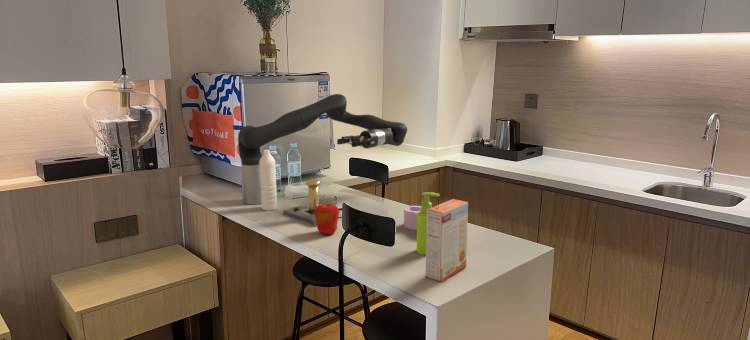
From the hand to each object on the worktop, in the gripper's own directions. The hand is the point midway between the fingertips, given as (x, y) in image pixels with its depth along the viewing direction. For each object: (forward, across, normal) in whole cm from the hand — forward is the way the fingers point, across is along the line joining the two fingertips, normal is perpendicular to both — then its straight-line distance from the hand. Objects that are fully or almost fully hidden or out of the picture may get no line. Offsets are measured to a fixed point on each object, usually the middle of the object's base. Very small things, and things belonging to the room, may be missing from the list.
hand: (344, 143), depth 205 cm
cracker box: (+22, +67, +28) cm, 76 cm away
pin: (+17, 0, +28) cm, 33 cm away
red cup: (+24, +16, +28) cm, 40 cm away
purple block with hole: (-4, +40, +28) cm, 50 cm away
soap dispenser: (+13, +53, +28) cm, 61 cm away
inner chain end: (+17, -4, +28) cm, 33 cm away
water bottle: (+21, -23, +28) cm, 42 cm away
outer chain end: (+17, +2, +28) cm, 33 cm away
